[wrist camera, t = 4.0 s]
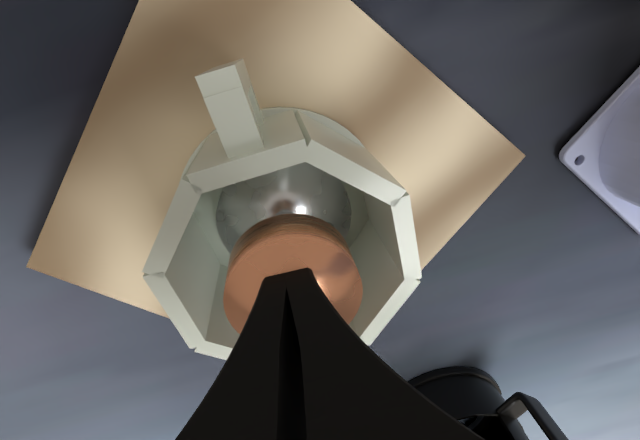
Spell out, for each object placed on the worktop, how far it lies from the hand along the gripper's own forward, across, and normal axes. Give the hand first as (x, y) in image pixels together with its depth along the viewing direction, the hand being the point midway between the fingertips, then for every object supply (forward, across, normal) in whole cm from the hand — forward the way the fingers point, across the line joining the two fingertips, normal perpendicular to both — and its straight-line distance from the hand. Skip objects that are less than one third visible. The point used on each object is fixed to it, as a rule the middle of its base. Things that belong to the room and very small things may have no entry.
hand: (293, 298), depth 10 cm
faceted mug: (+6, 0, 0) cm, 6 cm away
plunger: (+5, 0, 0) cm, 6 cm away
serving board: (+7, 0, 0) cm, 7 cm away
